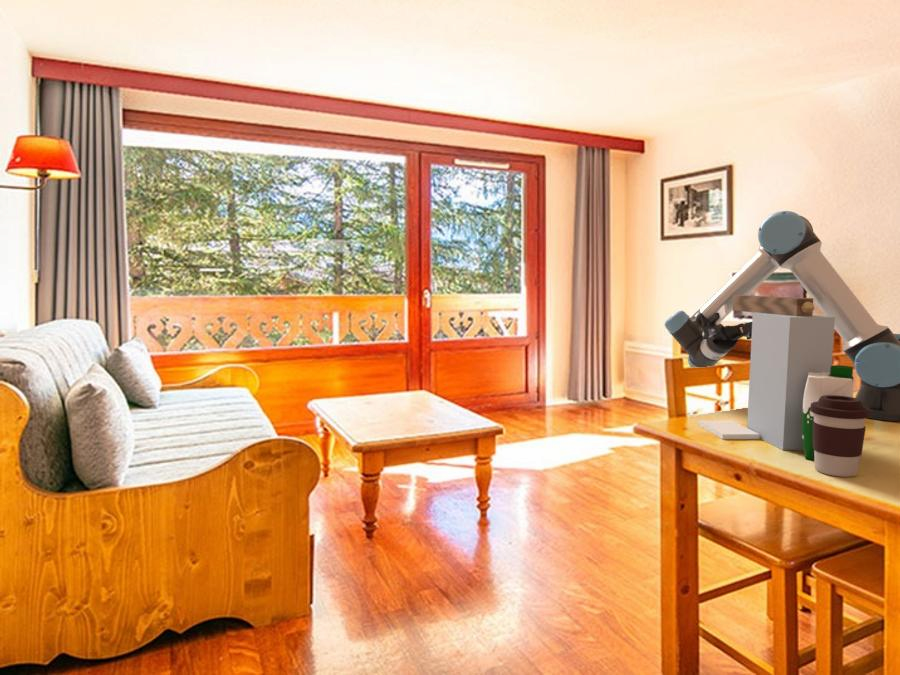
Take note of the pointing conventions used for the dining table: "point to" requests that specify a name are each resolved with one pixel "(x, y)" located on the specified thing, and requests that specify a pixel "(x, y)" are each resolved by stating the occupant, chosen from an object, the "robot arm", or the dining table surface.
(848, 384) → the milk carton
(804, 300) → the pepper mill
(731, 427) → the plate
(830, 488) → the dining table surface
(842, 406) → the coffee cup
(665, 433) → the dining table surface
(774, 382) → the stand
